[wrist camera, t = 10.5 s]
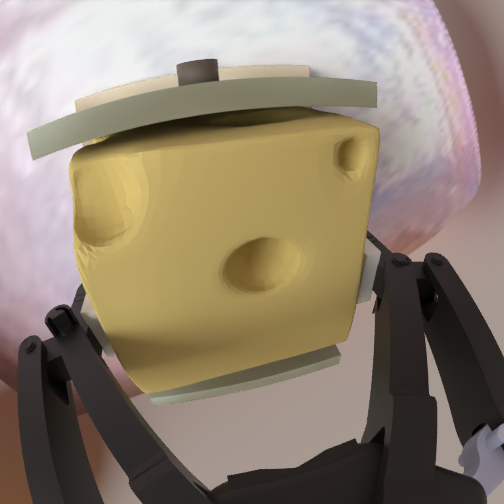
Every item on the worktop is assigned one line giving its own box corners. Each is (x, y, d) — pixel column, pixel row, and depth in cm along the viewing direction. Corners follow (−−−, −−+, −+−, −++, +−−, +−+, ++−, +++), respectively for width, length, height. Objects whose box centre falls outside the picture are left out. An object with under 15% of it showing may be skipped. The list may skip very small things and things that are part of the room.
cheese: (105, 125, 13) (21, 177, 5) (287, 97, 15) (403, 120, 7) (144, 272, 19) (138, 399, 11) (290, 244, 21) (359, 347, 13)
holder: (82, 99, 13) (0, 115, 5) (299, 66, 15) (395, 61, 8) (146, 316, 23) (145, 413, 15) (301, 284, 25) (349, 366, 18)
